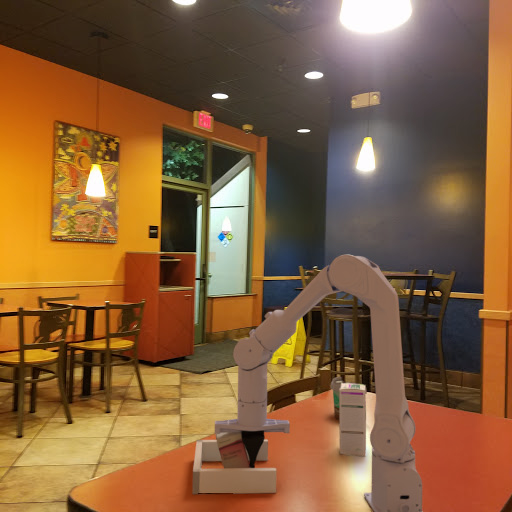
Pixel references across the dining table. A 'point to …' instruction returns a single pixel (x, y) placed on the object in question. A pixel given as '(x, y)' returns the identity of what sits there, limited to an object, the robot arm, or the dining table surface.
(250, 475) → the u-shaped bracket
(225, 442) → the small box
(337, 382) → the food container
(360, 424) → the syrup box
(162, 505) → the dining table surface
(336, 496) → the dining table surface
